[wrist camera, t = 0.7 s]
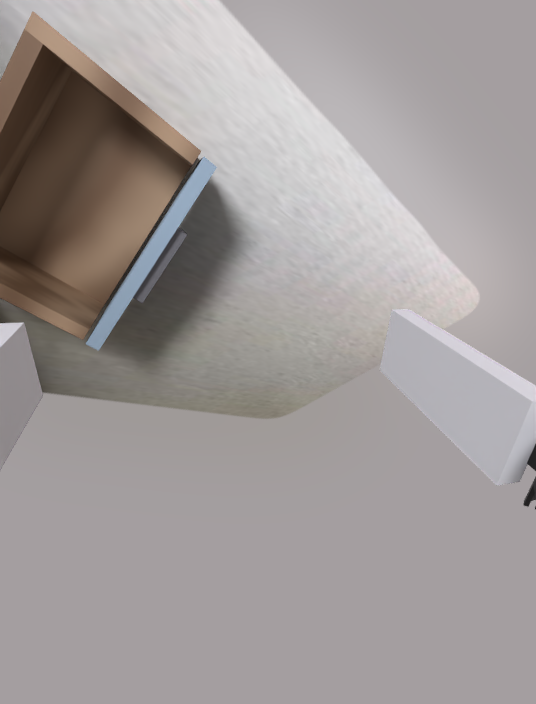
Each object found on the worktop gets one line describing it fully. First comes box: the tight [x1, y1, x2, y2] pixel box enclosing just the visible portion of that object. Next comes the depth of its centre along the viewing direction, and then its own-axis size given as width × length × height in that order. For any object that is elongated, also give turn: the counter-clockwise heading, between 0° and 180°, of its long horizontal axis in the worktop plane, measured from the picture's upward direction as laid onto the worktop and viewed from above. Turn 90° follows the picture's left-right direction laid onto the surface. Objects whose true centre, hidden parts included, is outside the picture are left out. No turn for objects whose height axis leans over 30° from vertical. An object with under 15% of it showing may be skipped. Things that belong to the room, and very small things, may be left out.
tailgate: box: [86, 157, 217, 351], centre depth 29 cm, size 2×16×6 cm, turn 141°
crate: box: [0, 12, 201, 340], centre depth 27 cm, size 11×16×8 cm
